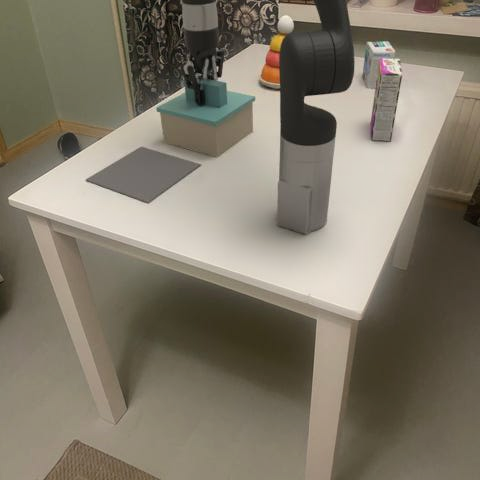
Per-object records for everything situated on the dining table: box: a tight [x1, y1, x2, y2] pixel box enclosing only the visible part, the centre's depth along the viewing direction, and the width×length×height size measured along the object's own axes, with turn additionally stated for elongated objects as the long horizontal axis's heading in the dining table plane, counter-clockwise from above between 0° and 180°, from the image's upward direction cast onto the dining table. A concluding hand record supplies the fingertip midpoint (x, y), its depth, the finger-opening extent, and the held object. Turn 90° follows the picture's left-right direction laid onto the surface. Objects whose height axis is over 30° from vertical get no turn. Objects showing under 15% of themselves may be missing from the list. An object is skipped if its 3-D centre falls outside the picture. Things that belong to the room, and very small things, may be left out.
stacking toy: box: [258, 14, 295, 90], centre depth 140 cm, size 14×14×20 cm
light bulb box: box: [361, 40, 396, 89], centre depth 141 cm, size 11×7×11 cm, turn 178°
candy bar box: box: [370, 58, 403, 143], centre depth 112 cm, size 11×5×16 cm, turn 168°
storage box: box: [159, 102, 254, 158], centre depth 116 cm, size 16×16×8 cm
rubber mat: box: [85, 146, 202, 204], centre depth 104 cm, size 18×18×1 cm
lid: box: [156, 78, 256, 126], centre depth 112 cm, size 17×17×7 cm
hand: (206, 100), depth 112 cm, fingers open, 4 cm apart
